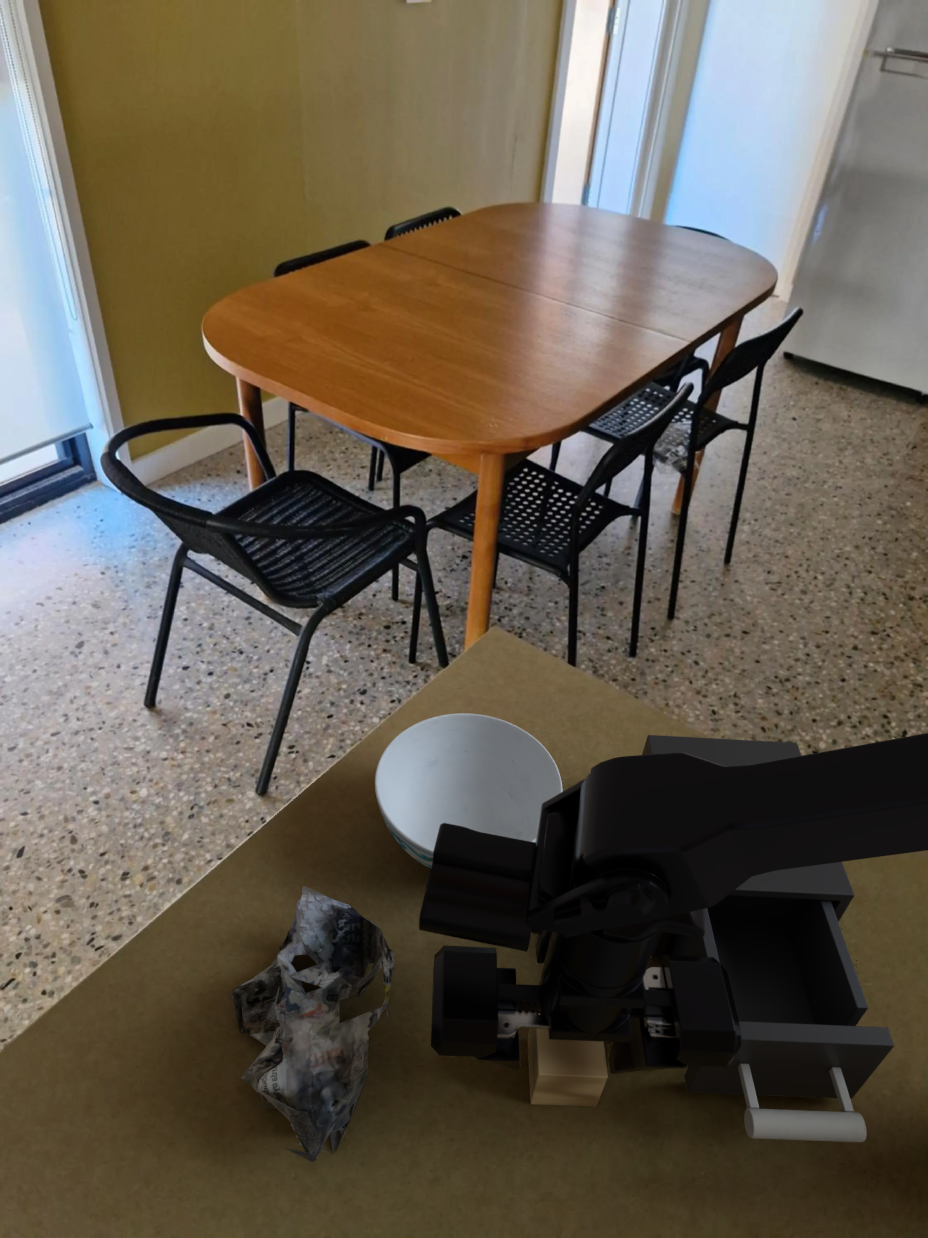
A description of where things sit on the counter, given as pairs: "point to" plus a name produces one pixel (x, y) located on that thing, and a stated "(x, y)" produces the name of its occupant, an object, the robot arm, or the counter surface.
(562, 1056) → the block
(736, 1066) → the pulled-out drawer
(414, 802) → the chinaware
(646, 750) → the drawer cabinet
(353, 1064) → the foil
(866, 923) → the counter surface
